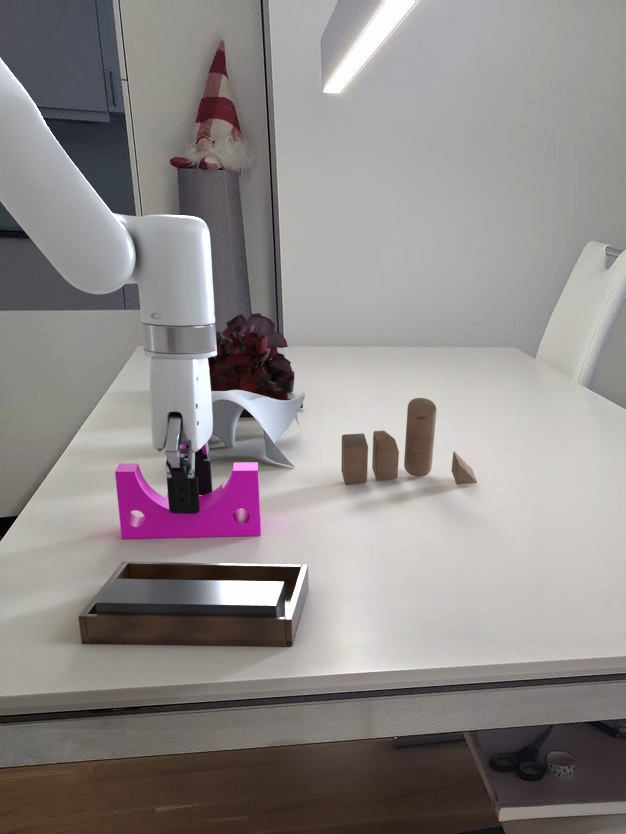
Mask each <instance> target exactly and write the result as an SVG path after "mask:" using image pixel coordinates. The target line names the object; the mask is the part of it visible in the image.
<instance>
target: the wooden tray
mask: <svg viewBox="0 0 626 834" xmlns="http://www.w3.org/2000/svg"><path fill="white" fill-rule="evenodd" d="M309 589H310V587H309V565H308V564H278V563H277V564H273V563H271V564H269V563H226V562H225V563H223V562H222V563H221V562H220V563H218V562H217V563H216V562H174V561H173V562H168V561H167V562H165V561H122V562H121V563H120V564H119V565H118V566H117V568H116V569H115V570H114V572H113V573H112V574H111V575H110V577H109V578H108V579H107V580H106V582H105V583H104V584H103V585H102V586H101V588H100V589H99V590H98V591H97V593H96V594H95V595H94V596H93V598H92V599H91V600H90V601H89V602H88V603H87V605H86V606H85V607H84V608H83V610H82V611H81V612H80V613H79V615H78V616H77V617H78V627H79V633H80V641H81V642H80V643H81V644H91V645H92V644H93V645H94V644H98V645H99V644H101V645H103V644H104V645H106V644H107V645H112V644H113V645H167V646H168V645H173V646H174V645H175V646H176V645H177V646H179V645H180V646H236V647H237V646H241V647H243V646H245V647H247V646H248V647H249V646H250V647H251V646H253V647H293V645H294V642H295V639H296V635H297V631H298V628H299V625H300V622H301V617H302V614H303V610H304V607H305V603H306V600H307V597H308V592H309Z"/></svg>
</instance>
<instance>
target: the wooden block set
mask: <svg viewBox="0 0 626 834" xmlns="http://www.w3.org/2000/svg"><path fill="white" fill-rule="evenodd" d="M437 411H438V410H437V405H436V404H435V402H434V401H432V400H431V399H428V398H426V397H414V398H413V399H411V400H410V401H409V402H408V403H407V410H406V427H405V443H404V457H403V459H404V461H403V467H404V470H405V472H406V473H408V474H409V475H411V476H414V477H425V476H427V475H429V474H430V473H431V471H432V468H433V456H434V444H435V432H436V421H437ZM371 458H372V459H371V461H372V462H371V463H372V464H371V468H372V472H373V475H374V478H375V480H376V481H384V480H396V479H398V476H399V458H400V450H399V448H398V444H397V441H396V439H395V438H394V437H393V436H392V435H391V434H389V433H388V432H387V431H385V430H374V431H373V434H372V457H371ZM368 461H369V445H368V441H367V438H366V435H365V434H364V433H363V432H362V433H350V434H349V433H347V434H346V433H345V434H342V435H341V469H340V470H341V474H342V478H343V483H344V484H345V485H354V484H366V483H367V482H368V464H369V463H368ZM451 474H452V476H453V479H454V482H455V484H456V485H465V484H466V485H467V484H477V483H478V480H477V478H476V475H475V473H474V470H473V468H472V467H471V466H470V465H469V464H468V463H467V462H466V461H465V460H464V459H463V458H462V457H461V456H460V455H459V454H458V453H457V452H456V451H455V450H454V451H453V452H452V462H451Z"/></svg>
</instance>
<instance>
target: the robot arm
mask: <svg viewBox="0 0 626 834" xmlns="http://www.w3.org/2000/svg"><path fill="white" fill-rule="evenodd" d="M0 203H1V204H2V205H3V207H4V208H5V209H6V210H7V211H8V214H10V215H11V216H12V218H13V220H15V221H16V223H17V224H18V225H19V226H20V227H21V229H22V230H23V232H25V234H26V235H27V236H28V237H29V239H30V240H31V241H32V242H33V243H34V244H35V245H36V247H37V248H38V249H39V251H40V252H41V253H42V254H43V256H44V257H45V258H46V259H47V260H48V262H49V263H50V264H51V265H52V266H53V268H54V269H55V270H56V271H57V272H58V274H59V275H60V276H61V277H63V279H64V280H65V281H66V282H67V283H68V284H70V285H72V286H73V287H74V288H76V289H78V290H79V291H82V292H84V293H87V294H92V295H106V294H110V293H113V292H116V291H118V290H119V289H121V288H123V286H124V285H129V284H136V285H137V287H138V296H139V297H138V298H139V308H140V320H141V332H142V333H141V334H142V343H143V344H142V345H143V355H144V356H146V357H149V358H150V371H149V397H150V398H149V399H150V423H151V426H150V427H151V442H152V443H151V445H152V448H153V449H154V451H156V452H162V451H163V450H164V454H165V457H166V459H165V466H166V468H165V469H166V471H165V472H166V473H165V474H166V487H167V492H168V501H169V511H170V512H171V513H178V514H197V513H198V512H199V511H200V504H199V496H202V495H205V494H208V493H210V492H212V491H213V476H212V461H211V460H210V457H211V455H210V447H209V442H208V441H209V440H210V439H211V437H212V436H213V435H212V431H213V413H212V397H211V384H210V374H209V370H210V369H209V364H208V358H209V357H214V356H216V355H217V344H216V331H217V330H216V329H217V328H216V315H215V295H214V294H215V293H214V279H213V260H212V246H211V245H212V243H211V234H210V228H209V227H208V225H207V223H206V222H205V221H204V219H201V218H199V217H197V216H193V215H178V214H146V215H143V216H134V215H127V214H119V213H114V212H112V211H111V210H110V208H109V207H108V206H107V204H106V203H105V202H104V200H103V199H102V198H101V197H100V196H99V194H98V193H97V192H96V190H95V189H94V188H93V186H92V185H91V183H89V181H88V179H86V177H85V176H84V174H83V173H82V172H81V171H80V170H79V168H78V167H77V165H75V163H74V162H73V160H72V159H71V158H70V157H69V155H68V154H67V153H66V151H65V149H64V148H63V146H61V144H60V143H59V141H58V140H57V139H56V137H55V136H54V134H53V133H52V131H51V129H50V128H49V126H48V124H47V123H46V121H45V120H44V118H43V116H42V113H41V112H40V110H39V108H38V107H37V105H36V103H35V102H34V100H33V99H32V98H31V96H30V94H29V93H28V92H27V90H26V89H25V88H24V86H23V85H22V83H20V81H19V80H18V78H16V76H15V75H14V74H13V73H12V71H11V70H10V68H9V67H8V66H7V65H6V64H5V62H4V61H3V59H2V58H1V57H0ZM181 445H182V447H181Z"/></svg>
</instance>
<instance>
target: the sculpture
mask: <svg viewBox="0 0 626 834" xmlns="http://www.w3.org/2000/svg"><path fill="white" fill-rule="evenodd" d="M211 397H212V413H213V431H212V435H211V436H214V437H216V438H217V439H219V440H220V441H221V442H222V444H223V445H224V446H225V447H228V448H232V447H233V448H234V447H235V437H236V436H235V435H236V429H237V425H238V421H239V419H240V418H241V417H240V415H241V413H242V411H243V409H244V408H245V409H246V410H247V411H248V412H250V413H251V414H252V415H253V417H252V418H254V419H255V421H257V422H258V424H259V425H260V427H261V429H262V432H263V437H264V445H265V457H266V458H267V459H268V460H269V461H272V462H273V463H276V464H280V465H285V466H288V467H293V468H296V466H295V465H294V464H293V463H292V462H291V461H289V459H288V458H287V457H286V456H285V455H284V453H283V452H282V450H281V449H280V448H279V447H278V446H277V444H276V443H277V441H278V440H280V438H281V437H282V436H283V435H284V434H285V432H287V430H288V428H289V427H290V426H291V424H292V423H293V421H294V420H295V421H296V423H297V425H298V427H299V428H301V426H300V423H299V420H298V413H299V411H300V409H301V408H300V407H301V405H302V403H303V404H304V401H305V397H306V392H301V393H300V394H298V395H297V396H295V397H294V398H290V399H291V400H277V399H272V398H269V397H266V396H263V395H259V394H255V393H251V392H247V391H243V390H230V391H211ZM180 448H182V445H180Z"/></svg>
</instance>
